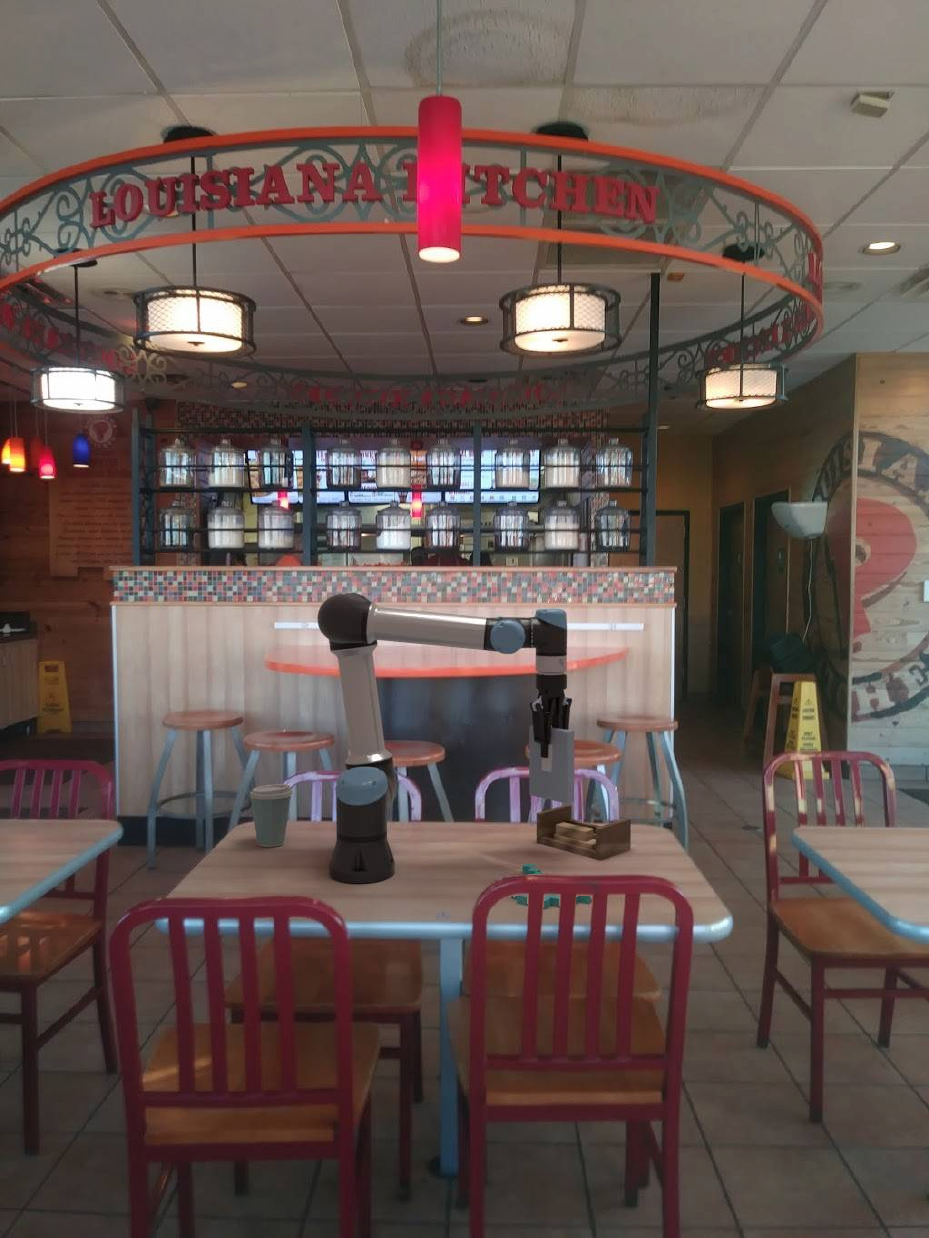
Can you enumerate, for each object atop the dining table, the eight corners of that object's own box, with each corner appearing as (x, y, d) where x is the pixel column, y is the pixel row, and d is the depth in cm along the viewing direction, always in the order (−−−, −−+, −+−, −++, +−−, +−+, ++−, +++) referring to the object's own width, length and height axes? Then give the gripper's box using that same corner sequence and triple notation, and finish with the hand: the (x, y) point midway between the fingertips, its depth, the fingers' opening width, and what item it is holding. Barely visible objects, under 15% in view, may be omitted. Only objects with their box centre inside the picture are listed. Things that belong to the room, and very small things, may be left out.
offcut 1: (555, 834, 219) (555, 824, 219) (562, 832, 222) (563, 822, 221) (586, 841, 213) (586, 831, 213) (593, 838, 216) (593, 828, 216)
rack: (536, 848, 221) (536, 812, 221) (566, 838, 230) (566, 804, 229) (600, 866, 207) (601, 829, 207) (630, 855, 215) (630, 819, 215)
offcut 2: (553, 844, 220) (553, 834, 220) (563, 840, 223) (563, 831, 222) (591, 854, 211) (592, 844, 211) (602, 851, 214) (602, 841, 214)
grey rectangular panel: (529, 794, 215) (529, 726, 215) (536, 793, 217) (536, 724, 216) (567, 803, 207) (567, 732, 206) (574, 801, 209) (574, 730, 208)
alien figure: (526, 872, 205) (488, 900, 187) (526, 863, 204) (488, 889, 187) (608, 886, 195) (577, 917, 178) (608, 876, 195) (577, 906, 178)
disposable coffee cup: (242, 848, 221) (241, 789, 220) (262, 836, 232) (261, 780, 231) (281, 851, 219) (280, 791, 218) (299, 839, 229) (298, 782, 228)
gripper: (542, 676, 203) (541, 777, 204) (583, 671, 213) (583, 767, 214) (517, 674, 208) (518, 772, 209) (559, 669, 219) (559, 762, 220)
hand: (551, 769), depth 212 cm, fingers closed on grey rectangular panel, 2 cm apart
